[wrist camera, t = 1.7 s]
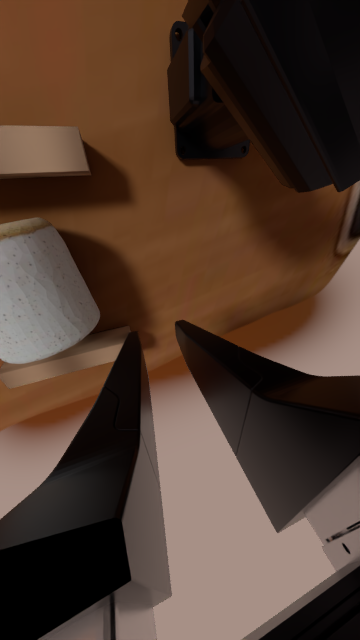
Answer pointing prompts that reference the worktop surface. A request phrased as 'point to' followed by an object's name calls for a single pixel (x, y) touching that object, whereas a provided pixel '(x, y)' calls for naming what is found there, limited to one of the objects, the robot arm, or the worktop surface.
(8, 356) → the ceramic mug
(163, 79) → the worktop surface
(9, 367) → the mug dock
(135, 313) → the worktop surface
